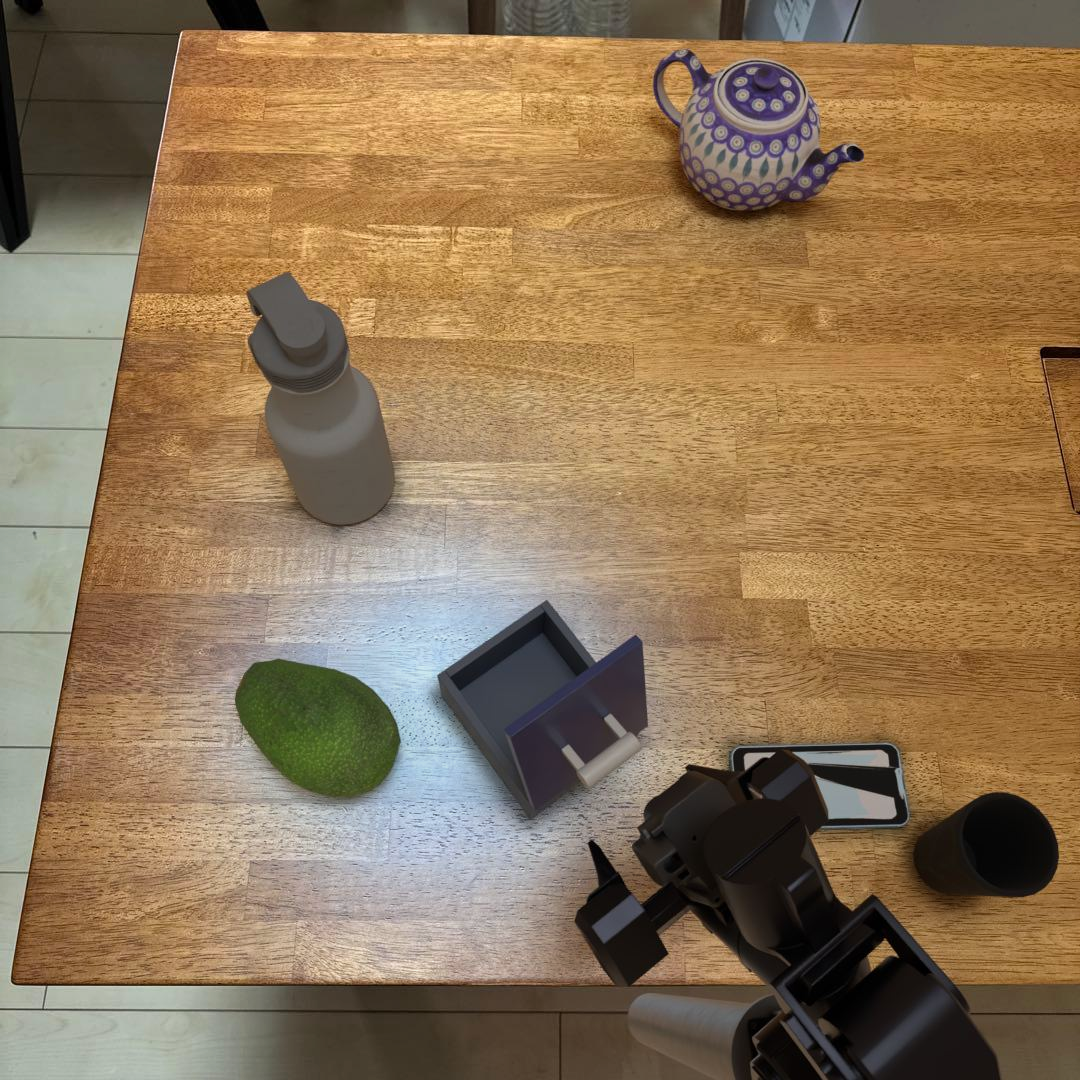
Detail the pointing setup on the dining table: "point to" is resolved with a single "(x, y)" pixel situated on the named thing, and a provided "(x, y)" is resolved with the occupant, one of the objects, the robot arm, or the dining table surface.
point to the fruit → (318, 726)
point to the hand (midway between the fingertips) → (640, 806)
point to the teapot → (750, 134)
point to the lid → (583, 726)
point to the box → (513, 686)
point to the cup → (989, 849)
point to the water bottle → (319, 406)
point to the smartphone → (847, 780)
